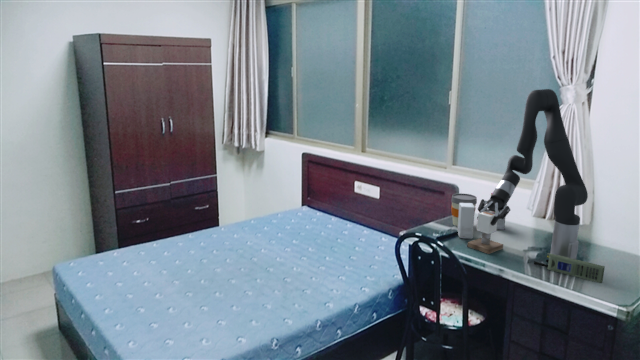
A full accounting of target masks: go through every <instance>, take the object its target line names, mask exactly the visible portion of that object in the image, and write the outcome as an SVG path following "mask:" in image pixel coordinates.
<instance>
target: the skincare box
mask: <svg viewBox="0 0 640 360" xmlns="http://www.w3.org/2000/svg"><path fill="white" fill-rule="evenodd" d="M475 208H476V206H475V207H474V205H473V203H459V216H458V226H457V232H458V233H457V235H458V237H459V239H473V238H474V226H475V214H476V209H475Z"/></svg>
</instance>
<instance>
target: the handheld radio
mask: <svg viewBox="0 0 640 360" xmlns="http://www.w3.org/2000/svg"><path fill="white" fill-rule="evenodd" d="M546 258H548V259H546V260H545V262H546V263H543V262H538V261H535V260H534V261H533V265H536V266H539V267H545V268H546V269H547V270H548V271H552V272H557V273H559V274H564V275H568V276H571V277H576V278H580V279H583V280H588V281H590V282H595V283H599V284H602V283H603V280H604V275H605V274H604V273H605V270H606V268H605V267H606V266H605V265H601V264H598V263H592V262H589V261H583V260H579V259H577V258H576V259H572V258H568V257H563V256H559V255H555V254H550V252H547V256H546Z"/></svg>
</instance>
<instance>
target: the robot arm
mask: <svg viewBox="0 0 640 360" xmlns="http://www.w3.org/2000/svg"><path fill="white" fill-rule="evenodd" d="M524 108H525V109H524V114H523V115H524V116H523V123H522V129H521V133H520V137H519V140H518V143H517V146H516V151H517V153H518V154H520V155H522V156H520V155H517V154H513V155H512V156H510V157H509V159H508V162H507V165H506V166H507V167H506V170H505V172H504V174H503V176H502V178H501V179H500V181H499V183H498V184H497V185H496V186H495V188H494V190H493V191H492V192H491V193H492V195H491V194H490V197H489V199H488V200H485V199H481V200H480V203H479V205H478V208H477V210H478V213H481V212H484V211H488V212H490V211H494V212H495V216H494V218H493V219H492V221H491V225H492V226H494V225H495V224H496V222H497V221H498V219H504V218H505V219H506V217H507V215H508V214H509V212H510V211H511V208H510V206H509V205H508V202H509V201H510V199H511V197H512V196H513V193H514V192H515V189H516V188H517V186H518V184H519V182H520V181H521V178H520V175H518V174H517V173H519V174H521V175H527V174H529V173H530V172H531V171H532V170H533V164H534V163H533V160H534V159H533V158H534V157H533V156H534V151H535V150H534V149H535V148H536V144H537V141H538V130H537V126H536V121H537V117H538V114H539V112H543V113H544V116H545V119H546V128H545V133H544V139H543V145H544V148H545V150H546V153H547V157H548V159H549V160H550V161H551V163H552V164H553V166H555V168H556V169H557V170H558V171H559V172H560V174H561V175H562V179H563V182H564V184H562V185H560V186H559V187H558V188H557V189H556V191H555V194H554V203H553V216H554V222H553V223H554V224H553V231H552V239H551V246H550V252H549V253H550V254H555V255H559V256H563V257H568V258H572V259H576V260H577V257H578V252H579V251H578V249H579V245H580V241H579V240H578V235H579V228H580V223H581V217H580V215H578V214H577V213H575V212H576V211H575V210H576V207H577V206H578V207H579V206H582V205H585V203H586V202H587V200H588V197H589V195H588V194H589V193H588V190H587V187H586V184H585V182H584V181H583V180H584V179H583V178H582V176H581V173H580V171H579V169H578V166H577V162H576V160H575V157H574V154H573V149H572V146H571V144H570V141H569V138H568V135H567V133H566V128H565V126H564V121H563V117H562V114H561V107H560V102H559V99H558V95H557V93H556V92H555V91H554V90H553V89H552V88H545V89H543V88H542V89H534V90H531V91H530V92H529V93H528V95H527V98H526V102H525V107H524ZM516 172H517V173H516ZM506 204H507V206H505V205H506ZM502 209H504V210H503V211H502V213H501V214H500V211H501V210H502ZM476 219H477V221H478V216H477V218H476Z"/></svg>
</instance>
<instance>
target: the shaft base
mask: <svg viewBox="0 0 640 360" xmlns="http://www.w3.org/2000/svg"><path fill="white" fill-rule="evenodd" d="M491 234H492V233H490V234H487V233H484V232H481V237H479V238H477V239H476V238H475V239H474V240H470V241H468V242H467V247H468V248H470V249H474V250H475V251H480V252H482V253H485V254H488V255H489V254H493V253H495V252H498V251H500V250H503V249H504V244H503V243H501V242H497V241H495V240H492V239H491Z"/></svg>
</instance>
